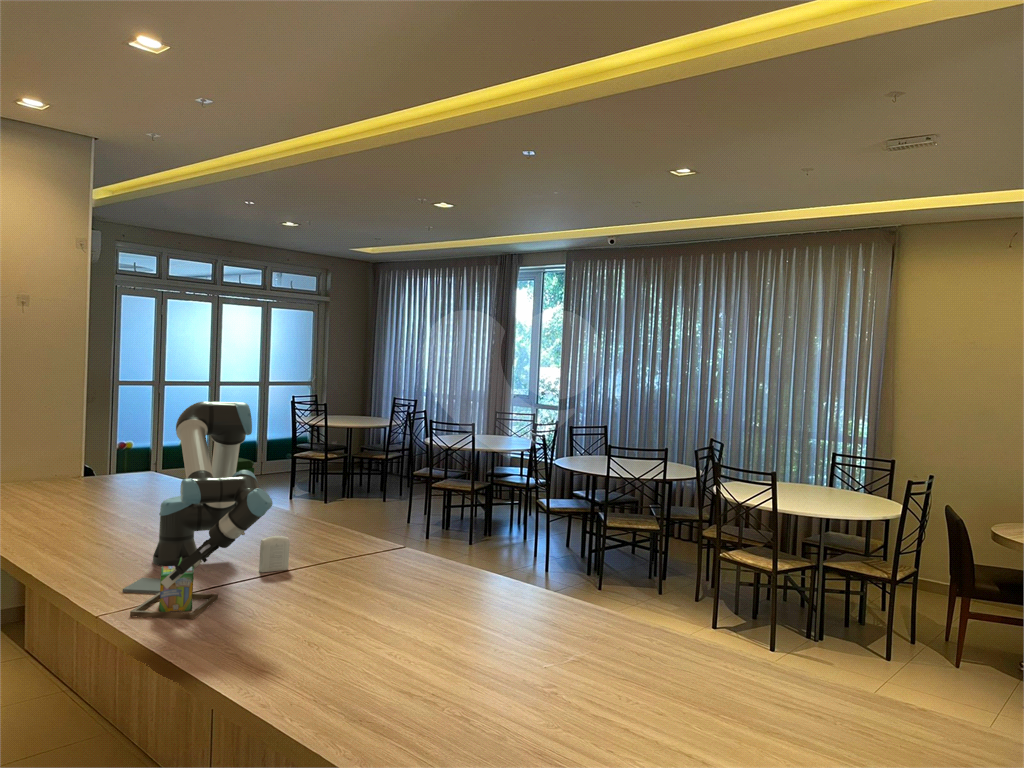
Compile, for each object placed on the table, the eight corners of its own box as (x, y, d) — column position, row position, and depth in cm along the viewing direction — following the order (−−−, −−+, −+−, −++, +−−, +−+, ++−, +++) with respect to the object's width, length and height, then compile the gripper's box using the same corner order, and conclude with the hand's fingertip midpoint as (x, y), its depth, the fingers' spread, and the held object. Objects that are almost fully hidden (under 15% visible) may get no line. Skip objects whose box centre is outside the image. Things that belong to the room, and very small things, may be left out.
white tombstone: (286, 567, 258) (288, 533, 258) (289, 570, 254) (291, 536, 254) (257, 570, 252) (259, 536, 252) (260, 573, 249) (262, 539, 248)
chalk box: (159, 603, 214) (161, 555, 214) (192, 601, 218) (194, 553, 218) (157, 614, 206) (159, 563, 206) (192, 611, 210) (194, 561, 209)
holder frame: (130, 616, 203) (130, 611, 203) (160, 596, 221) (160, 591, 221) (192, 619, 203) (192, 614, 203) (218, 598, 221) (218, 594, 221)
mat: (122, 592, 223) (122, 589, 223) (142, 580, 235) (142, 577, 235) (160, 594, 223) (160, 590, 223) (178, 582, 235) (178, 579, 235)
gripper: (219, 550, 200) (163, 601, 200) (250, 530, 224) (199, 576, 224) (201, 530, 200) (145, 581, 200) (234, 513, 223) (183, 558, 224)
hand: (174, 578), depth 212 cm, fingers closed on chalk box, 11 cm apart
